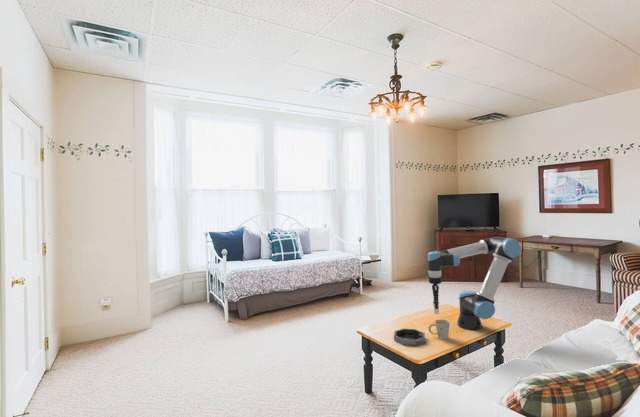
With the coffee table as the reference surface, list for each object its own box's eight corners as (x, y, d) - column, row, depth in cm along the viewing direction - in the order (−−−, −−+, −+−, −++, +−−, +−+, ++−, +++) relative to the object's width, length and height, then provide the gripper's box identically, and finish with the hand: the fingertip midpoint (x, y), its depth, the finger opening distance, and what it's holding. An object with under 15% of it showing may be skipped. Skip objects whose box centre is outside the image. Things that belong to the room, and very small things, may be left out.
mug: (451, 340, 204) (450, 324, 204) (429, 339, 207) (429, 323, 206) (448, 335, 212) (448, 319, 212) (428, 334, 215) (427, 319, 215)
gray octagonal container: (424, 334, 215) (424, 329, 215) (425, 346, 197) (425, 341, 197) (395, 332, 220) (395, 327, 220) (393, 344, 202) (393, 339, 202)
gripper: (428, 272, 223) (429, 303, 223) (429, 281, 199) (430, 316, 199) (440, 272, 221) (441, 304, 221) (442, 281, 197) (443, 317, 197)
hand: (436, 310), depth 210 cm, fingers open, 13 cm apart
